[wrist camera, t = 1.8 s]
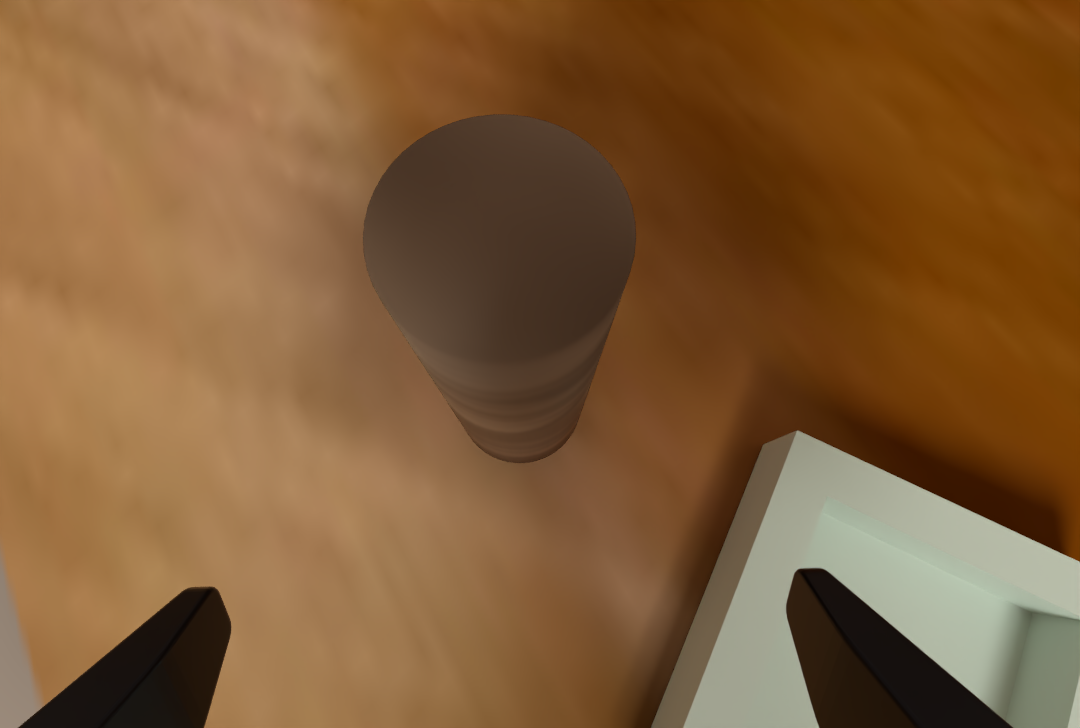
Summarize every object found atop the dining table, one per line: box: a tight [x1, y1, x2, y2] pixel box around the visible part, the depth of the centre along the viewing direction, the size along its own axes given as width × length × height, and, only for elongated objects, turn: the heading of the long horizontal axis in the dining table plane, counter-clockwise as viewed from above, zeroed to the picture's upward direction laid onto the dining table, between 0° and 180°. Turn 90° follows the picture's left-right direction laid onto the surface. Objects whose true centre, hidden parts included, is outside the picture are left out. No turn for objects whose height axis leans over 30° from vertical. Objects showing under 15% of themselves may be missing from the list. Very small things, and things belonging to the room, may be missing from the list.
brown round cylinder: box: [363, 115, 636, 463], centre depth 16 cm, size 4×4×13 cm
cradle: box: [651, 430, 1080, 728], centre depth 18 cm, size 13×11×3 cm
